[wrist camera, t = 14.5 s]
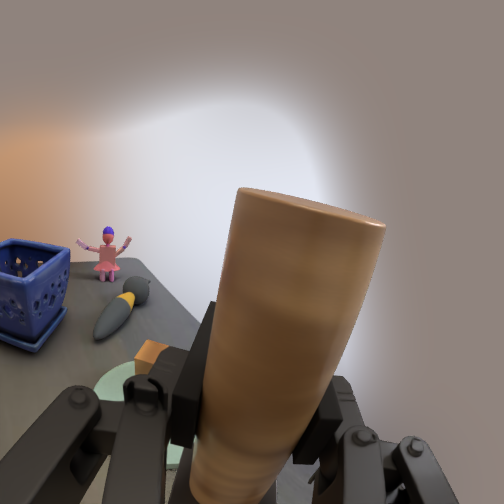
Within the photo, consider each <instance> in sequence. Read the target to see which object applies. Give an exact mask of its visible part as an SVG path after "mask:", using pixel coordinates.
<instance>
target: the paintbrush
mask: <svg viewBox="0 0 504 504" xmlns="http://www.w3.org/2000/svg"><path fill="white" fill-rule="evenodd" d="M150 282H151V281H150V280H147V279H144V278H142V277H138V276H134V277H130V278H128V279H127V280H126V281H125V283H124V285H123V294H122V295H119V296H117V297H116V298H114V299H113V300H112V301H111V302H110V303H109V304H108V305H107V306H106V308H105V309H104V310H103V312H102V313H101V315H100V317H99V318H98V320H97V322H96V325H95V327H94V331H93V337H94V339H96V340H100V339H103V338H105V337H107V336H108V335H110V334H111V333H113V332H114V331H115V330H116V329H117V328H118V327H119V326H121V324H122V323H123V322H124V321H125V320H126V319H127V317H128V316H129V315H130V313H131V310H132V307H133V304H141V303H143V302H145V301H146V300H147V298H148V296H149V283H150Z"/></svg>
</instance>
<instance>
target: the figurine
mask: <svg viewBox="0 0 504 504" xmlns="http://www.w3.org/2000/svg"><path fill="white" fill-rule="evenodd" d="M113 238H114V232H113V229H112V228H111V227H106V228H105V229H104V230H103V241H104V242H105V243H106V245H100V248H95V247H91V246H89V247H88V246H87V245H86V244H85V243H84V242H82V241H81V240H80V239H78V240H77V241H76V243H77V244H78V245H79V246H81V247H82V248H83V249H84V250H86V249H87V250H89V251H93V252H97V253H100V260H99V264H98V265H97V266H96V267H95V268H94V270H97V271H100V280H101V281H102V282H104V281H105V271H106V272H108V271H109V280H110V281H111V282H113V281H114V271H117V270H120V268H119V267H118V266H117V265H116V264H115V257H117V256H118V255H119V254H120V253H122V252H123V251H124V250H125V248H127V247H128V245H129V243H130V241H131V240H132V238H131V237H129V236H128V237H127V239H126V241H125V243H124V246H122V247H121V248H120V249H118V250H117V251H116V246H114V245H109V244H110V243H111V242H112V241H113ZM115 251H116V252H115Z"/></svg>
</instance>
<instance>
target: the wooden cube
mask: <svg viewBox="0 0 504 504" xmlns="http://www.w3.org/2000/svg"><path fill="white" fill-rule="evenodd" d="M167 347H169V346H168V345H164V344H161V343H158V342H154V341H151V340H148V339H147V341H146V342H145V343H144V345H143V346H142V348H141V349H140V351H139V352H138V353H137V355H136V356H135V358H134V361H135V375H138V374H147V375H148V373H149V371H150V369H151V368H152V366H153V364H154V362H155V361H156V359H157V357H158V355H159V353H160V352H161V351H162V350H164V349H165V348H167Z"/></svg>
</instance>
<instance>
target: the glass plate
mask: <svg viewBox="0 0 504 504" xmlns="http://www.w3.org/2000/svg"><path fill="white" fill-rule="evenodd" d="M133 375H135V361H132V362H128V363H125V364H122V365H120V366H117V367H115V368H113V369H112V370H110V371H109V372H107V373H106V374H105V375H104V376H103V377H102V378H101V379H100V380H99V381H98V383H97V384H96V386H95V388H94V390H93V391H94V392H96V394H97V396H98V397H99V399H102V400H110V401H124V394H123V383H124V382H125V380H126V379H128V378H129V377H131V376H133ZM194 441H195V438H194ZM183 448H184V447H181V446H177V445H173V444H170V441H169V444H168V447H167V465H166V469H178V465H179V462H180V458H181V455H182V451H183Z"/></svg>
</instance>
